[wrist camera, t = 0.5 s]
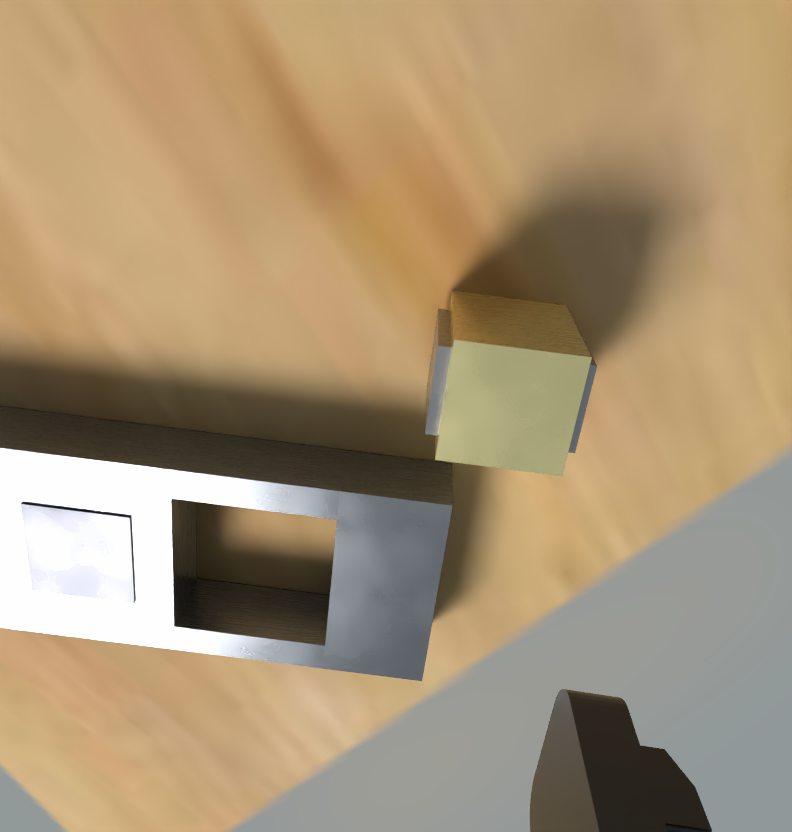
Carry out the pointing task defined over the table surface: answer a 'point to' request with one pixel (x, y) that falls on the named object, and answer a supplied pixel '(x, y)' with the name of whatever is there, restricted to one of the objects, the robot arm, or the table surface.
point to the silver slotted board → (177, 554)
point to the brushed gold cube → (507, 383)
